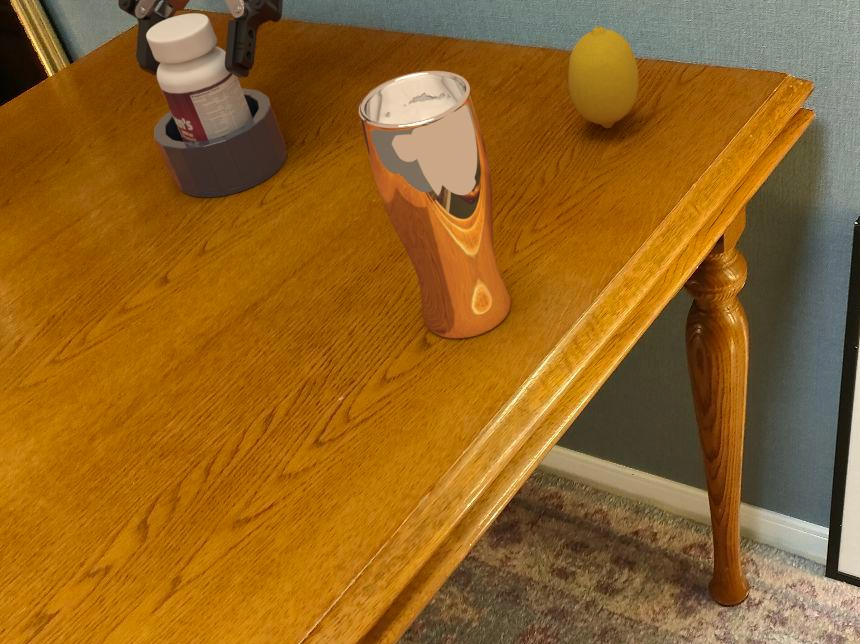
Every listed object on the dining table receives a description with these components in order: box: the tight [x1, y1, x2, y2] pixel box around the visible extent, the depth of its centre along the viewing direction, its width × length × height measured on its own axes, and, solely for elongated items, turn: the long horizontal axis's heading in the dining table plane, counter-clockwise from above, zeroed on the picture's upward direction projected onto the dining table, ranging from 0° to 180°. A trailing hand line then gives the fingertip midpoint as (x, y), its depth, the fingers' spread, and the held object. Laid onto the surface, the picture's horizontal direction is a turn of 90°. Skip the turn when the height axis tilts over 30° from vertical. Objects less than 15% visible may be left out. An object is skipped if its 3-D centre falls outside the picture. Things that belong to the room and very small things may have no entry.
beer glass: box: [358, 70, 512, 340], centre depth 63 cm, size 7×7×15 cm
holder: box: [153, 87, 288, 198], centre depth 86 cm, size 10×10×4 cm
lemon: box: [567, 25, 640, 129], centre depth 79 cm, size 6×6×8 cm
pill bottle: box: [146, 12, 253, 142], centre depth 83 cm, size 6×6×11 cm
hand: (193, 73), depth 81 cm, fingers open, 8 cm apart
